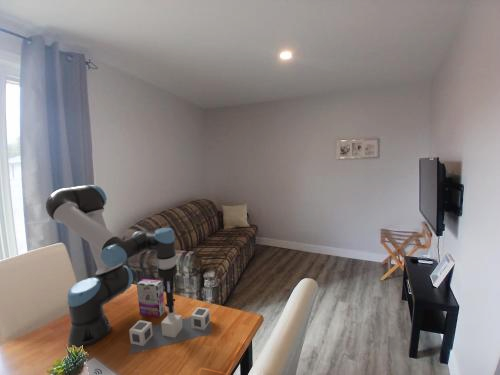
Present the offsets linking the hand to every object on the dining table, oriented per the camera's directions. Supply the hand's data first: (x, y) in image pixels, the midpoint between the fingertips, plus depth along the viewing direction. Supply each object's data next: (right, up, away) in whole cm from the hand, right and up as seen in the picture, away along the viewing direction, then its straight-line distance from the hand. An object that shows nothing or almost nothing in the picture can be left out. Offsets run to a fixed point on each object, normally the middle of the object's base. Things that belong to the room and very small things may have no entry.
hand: (171, 317), depth 105 cm
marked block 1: (-11, -7, -3) cm, 14 cm away
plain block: (0, -6, +1) cm, 7 cm away
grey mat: (0, -7, +1) cm, 7 cm away
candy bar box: (-14, -6, +14) cm, 21 cm away
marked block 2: (+12, -6, +5) cm, 14 cm away
